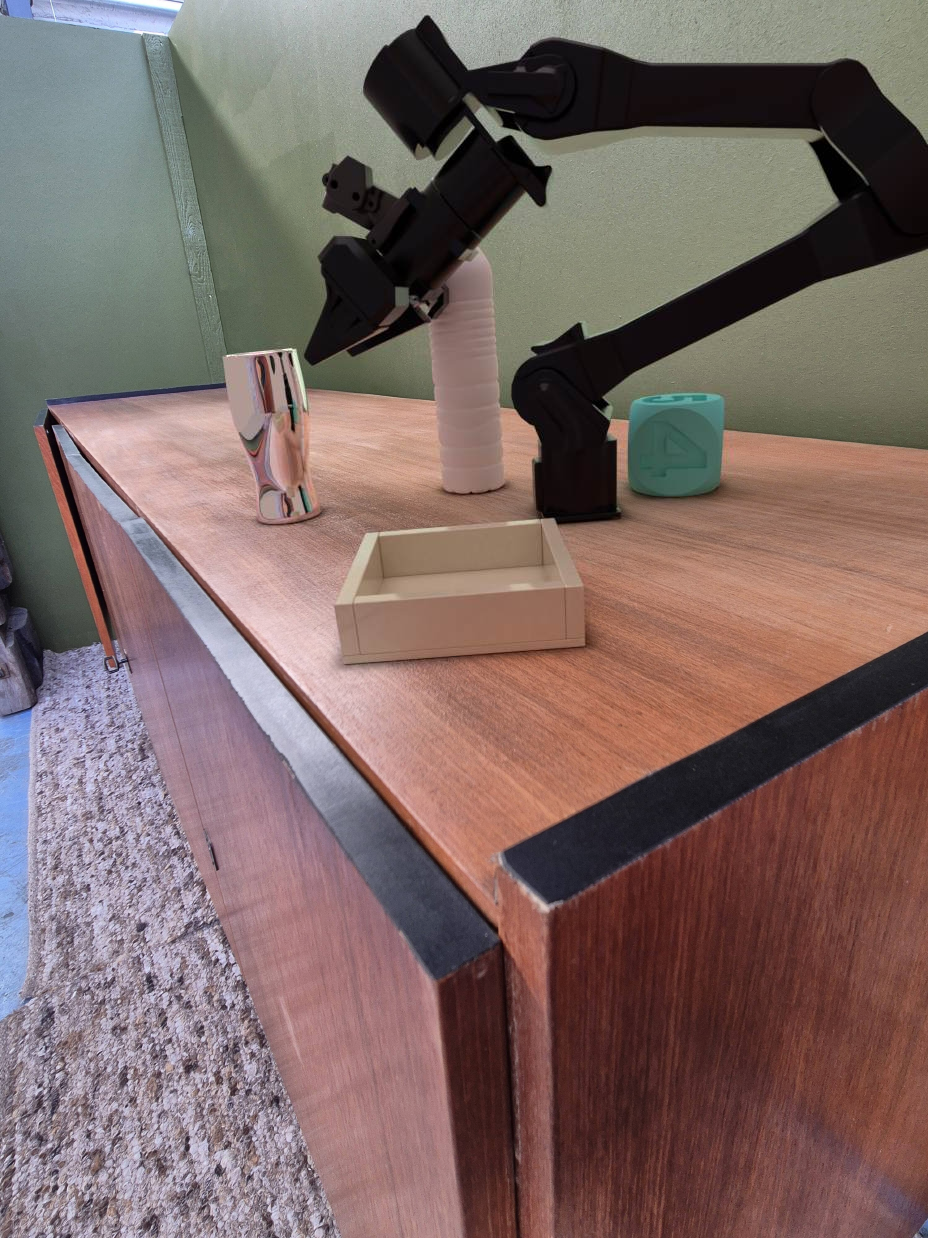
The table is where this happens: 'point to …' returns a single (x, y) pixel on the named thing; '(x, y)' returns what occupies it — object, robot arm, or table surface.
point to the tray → (460, 593)
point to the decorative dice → (675, 444)
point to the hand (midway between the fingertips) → (329, 356)
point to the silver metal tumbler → (273, 431)
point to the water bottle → (468, 382)
